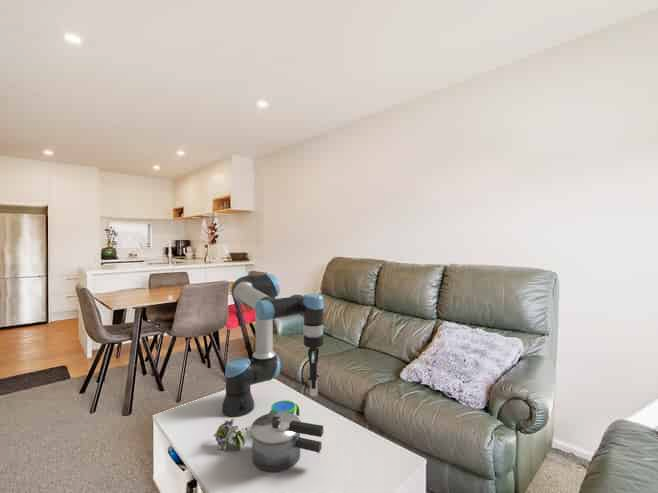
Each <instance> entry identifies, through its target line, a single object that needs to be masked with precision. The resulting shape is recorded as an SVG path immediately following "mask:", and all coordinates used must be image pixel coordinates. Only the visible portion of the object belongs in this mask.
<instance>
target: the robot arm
mask: <svg viewBox="0 0 658 493" xmlns="http://www.w3.org/2000/svg"><path fill="white" fill-rule="evenodd" d="M280 286H281V285H280V283H279V280H278V279H277V277H276V276H275V275H274V274H271V273H270V274H269V273H267V274H265V273H263V274H255V275H253V274H252V275H244V276H241V277H239V278H237V279H236V280H235V281H234V282H233V284H232V285H231V290H230V292H231V296H232V298H233V299H234V300H236V301H237V302H240V303H244V304H246V305H248V306H249V307H250V308H252V309H253V310H254V313H255V314H254V315H255V317H254V319H255V322H254V323H255V351H254V352H253V353H252V359H250V358H249V357H237V358H235V359H232V360H230V361H229V362H227V364H226V365H225V373H224V376H225V396H224V399H223V402H222V405H221V410H222V414H224V415H225V416H228V417H232V418H233V417H241V416H246V415H248V414H250V413H251V412H252V411H254V408H255V400H254V398H253V395H252V392H251V386H253V385H256V384H260V383H264V382H269V381H272V380H274V379H276V378H277V377H278V376H279V375H280V372H281V360H280V358H279V356H278V355H277V353H276V352H275V351H274V346H273V345H274V342H273V340H274V339H273V338H274V335H273V334H274V333H273V332H274V330H273V327H274V326H273V323H274V322H273V321H274V320H276V319H281V318H287V317H295V316H301V317H303V335H304V336H303V345H304V346H305V347H306V348H308V351H307V355H308V363H309V377H308V379H307V380H308V381H309V397H318V378H319V377H320V374H318V362H319V352H320V347H322V346H323V345H324V329H325V327H326V326H324V306H325V305H324V297H323V295H322V294H319V293H307V294H305V295H302V294H292V295H291V296H288V297H280V298H277V297H278V296H279V295H280V292H281V287H280Z"/></svg>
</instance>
